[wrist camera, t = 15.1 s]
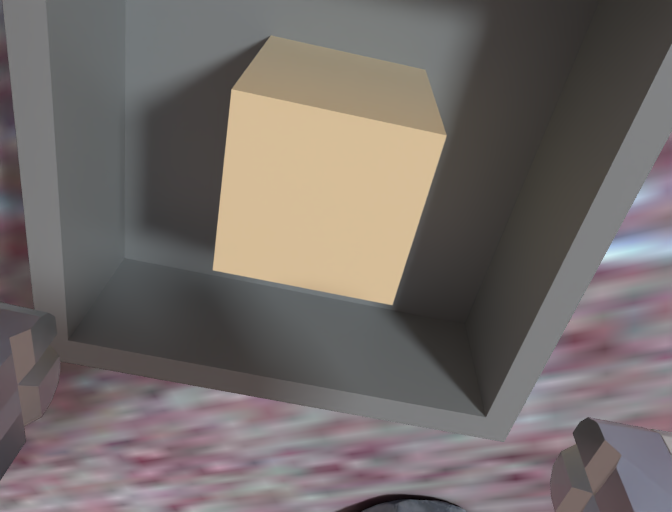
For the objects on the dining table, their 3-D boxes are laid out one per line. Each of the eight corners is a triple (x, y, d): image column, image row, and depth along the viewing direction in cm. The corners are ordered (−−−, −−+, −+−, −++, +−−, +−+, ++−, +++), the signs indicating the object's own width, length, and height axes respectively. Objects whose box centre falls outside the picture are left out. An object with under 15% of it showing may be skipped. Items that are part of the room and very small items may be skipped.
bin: (658, -87, 17) (785, -81, 11) (476, 331, 25) (503, 442, 20) (102, -224, 16) (-28, -284, 10) (109, 260, 24) (39, 357, 19)
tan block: (425, 69, 18) (446, 135, 13) (386, 206, 21) (392, 305, 16) (270, 35, 18) (231, 89, 13) (251, 178, 21) (212, 270, 15)
